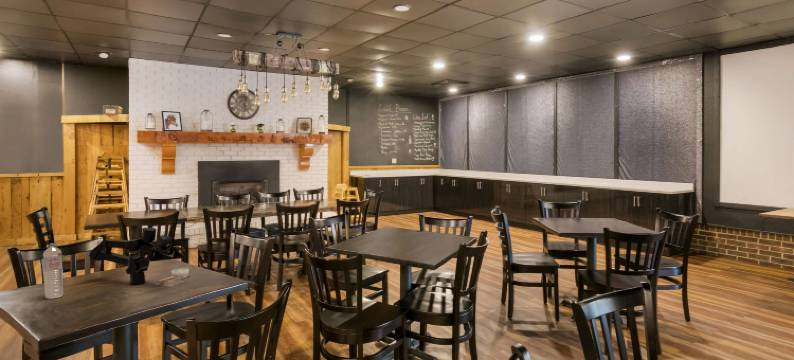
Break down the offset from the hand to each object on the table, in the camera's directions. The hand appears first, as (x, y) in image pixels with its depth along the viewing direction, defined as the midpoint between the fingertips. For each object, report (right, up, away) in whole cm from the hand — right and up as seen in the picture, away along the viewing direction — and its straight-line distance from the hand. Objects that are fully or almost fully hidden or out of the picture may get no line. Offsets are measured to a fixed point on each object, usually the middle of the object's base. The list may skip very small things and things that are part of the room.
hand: (178, 257), depth 223 cm
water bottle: (-51, -16, -13) cm, 55 cm away
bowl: (-8, -14, +19) cm, 25 cm away
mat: (-8, -15, +9) cm, 19 cm away
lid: (-8, -14, +9) cm, 19 cm away
